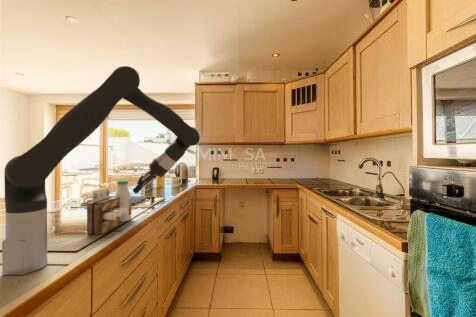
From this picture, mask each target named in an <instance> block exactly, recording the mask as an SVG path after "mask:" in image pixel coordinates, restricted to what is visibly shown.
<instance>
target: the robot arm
mask: <svg viewBox="0 0 476 317" xmlns="http://www.w3.org/2000/svg"><path fill="white" fill-rule="evenodd" d="M140 82H141V78H140V75H139V72H138V71H137V70H136V69H135V68H134V67H131V66H129V65H124V66H123V65H122V66H119V67H116V68H115V69H114V70H113V72H112V73H111V74H110V75H109V76H108V77H107V78H106V80H104V82H102V84H100V85H99V86H98V87H97V88H96V89H95V90H94V91H91V93H89V94H88V95H86V96H85V97H84V98H83V99H81V100H80V101H79V102H78V103H76V104H75V105H74V106H73V107H71V108H70V109H69V110H68V111H66V113H65V114H64V115H63V116H62V117H61V118H59V120H58V121H57V122H56V123H55V124H54V125H53V126H52V128H51V130H50V131H49V132H47V134H46V136H44V138H43V139H41V140H40V141H39V142H37V143H36V144H35V145H33V146H32V147H31V148H30V149H28V150H27V151H25V152H24V153H22V154H20V155H17V156H15V157H12V158H11V159H10V160H8V161H7V162H6V165H5V168H4V205H5V208H4V209H5V210H4V211H5V239H3V240H2V242H1V264H2V265H1V269H2V272H1V274H2V275H4V276H7V275H8V276H9V275H10V276H24V275H27V274H29V273H33V272H35V271H38V270H41V269H42V268H44V267H46V266H47V265H48V198H47V193H46V192H47V191H46V179H47V178H48V177H49V176H50V175H51V173H53V171H54V170H55V169H56V167H57V166H58V165H59V164H60V162H62V160H63V159H64V158H65V157H66V156H67V155H68V154H69V153H71V152H72V151H73V150H74V149H76V148H77V147H79V145H81V143H83V142H84V141H86V139H87V138H88V137H90V136H91V135H92V134H93V133H94V132H95V131H96V130H97V129H98V128H99V127H100V126H101V125H102V124H103V123H104V122H105V120H106V119H107V117H109V115H110V113H111V112H112V111H113V109H114V108H115V106H116V105H117V104H118V103H119V102H120V101H121V100H125V101H127V102H129V103H131V104H132V105H134V106H135V107H137V108H138V109H140V110H142V111H143V112H145V113H146V114H148V115H149V116H151V117H152V118H153V119H155V120H156V121H157V122H158V123H160V124H161V125H163V126H164V128H166V129H167V130H169V131H171V133H173V135H175V136H176V138H175V139H174V141H173V142H172V143H170V144H169V145H168V146H167V147H166V148H165V149H164V150H163V151H162V152H161V153H159V155H157V156H156V157H155V158H154V159H153V161H151V162H150V163H149V165H148V168H149V171H146V172H145V173H144V175H141V176H140V177H139V179H138V181H137V183H136V184H137V185H136V186H135V187H134V188H132V191H133V193H134V194H138V193H139V192H140V191H141V190H142V189H144V188H145V187H146V186H148V185H150V184H151V183H152V182H154V181H155V180H157V179H158V177H160V178H163V177H164V176H165V175H166V174H168V172H169V171H170V170H171V169H172V168H173V167H174V166H175V165H176V163H177V162H178V161H179V160H181V158H183V156H184V155H185V153H186V151H187V150H188V148H190V147H193V146H196V145H198V143H199V142H200V138H201V137H200V134H199V131H198V129H196V128H195V127H193V126H190V125H189V124H188V123H187V122H185V121H184V120H183V118H182V117H181V116H180V115H179V114H177V112H176V111H174V110H173V109H171V107H169V106H167V105H166V104H163V103H162V102H159V101H157V100H154V99H153V98H152V97H150V96H148V95H146V93H145V92H143V91H142V90H141V89H140V88H139V87H140Z"/></svg>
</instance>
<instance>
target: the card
mask: <svg viewBox="0 0 476 317" xmlns="http://www.w3.org/2000/svg"><path fill="white" fill-rule="evenodd" d="M110 194H111V192H110V186H106V187H102V188H98V189H95V190H92V194H91V196H92V200H91V202H92V203H93V202H97V201H100V200H103V199H106V198H109V197H110Z"/></svg>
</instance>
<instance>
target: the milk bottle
mask: <svg viewBox="0 0 476 317" xmlns="http://www.w3.org/2000/svg"><path fill="white" fill-rule="evenodd" d="M128 185H129V181H128V180H118V181H117V186H118V188H117V190H116V192H115V195H114V197H120V208H127V214H122V216H121V217H120V223H124V222H128V221H131V219H132V194H131V193H130V190H129V187H128Z"/></svg>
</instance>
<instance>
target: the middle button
mask: <svg viewBox="0 0 476 317" xmlns="http://www.w3.org/2000/svg"><path fill="white" fill-rule="evenodd" d="M108 213H116V214H117V217H121V216H122V210H109V211H108Z"/></svg>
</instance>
